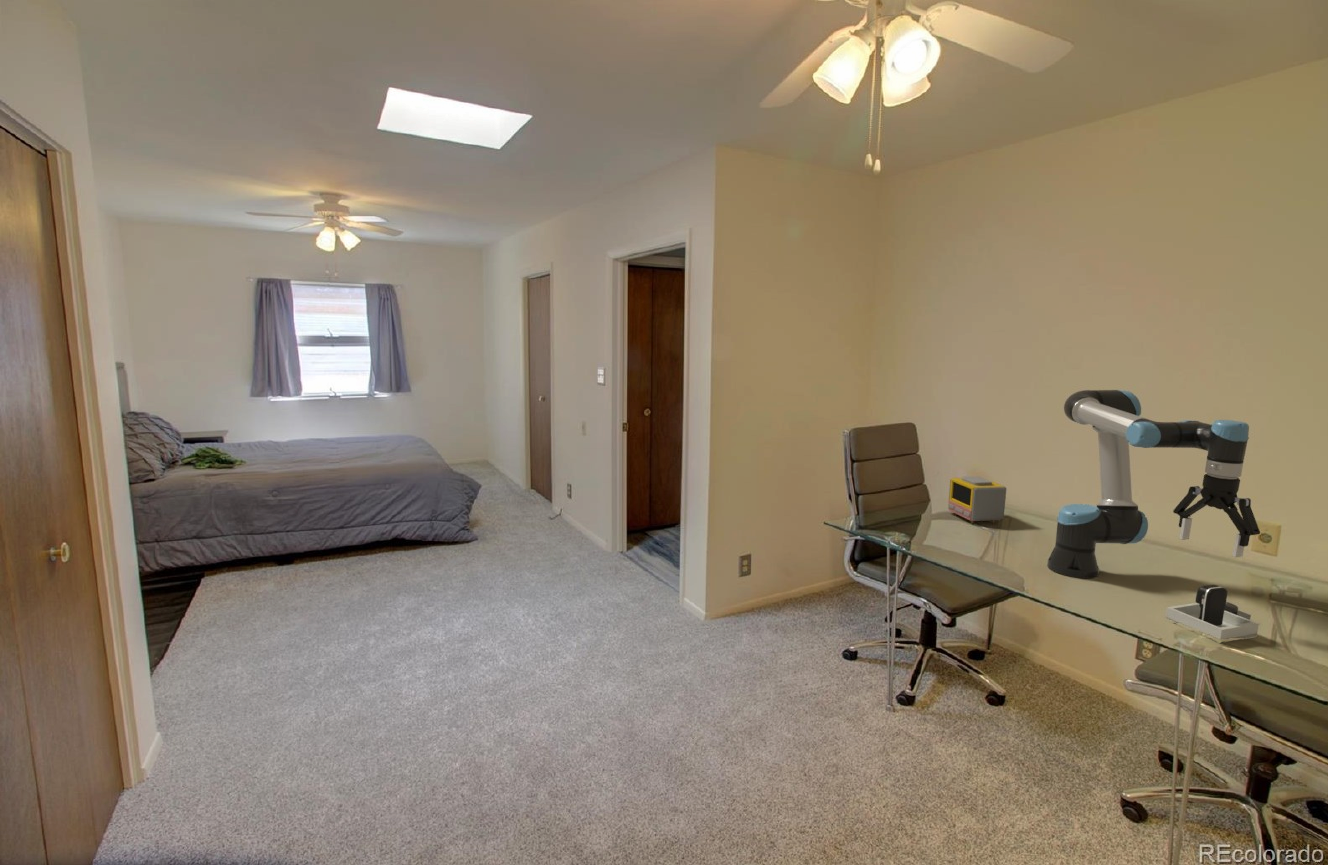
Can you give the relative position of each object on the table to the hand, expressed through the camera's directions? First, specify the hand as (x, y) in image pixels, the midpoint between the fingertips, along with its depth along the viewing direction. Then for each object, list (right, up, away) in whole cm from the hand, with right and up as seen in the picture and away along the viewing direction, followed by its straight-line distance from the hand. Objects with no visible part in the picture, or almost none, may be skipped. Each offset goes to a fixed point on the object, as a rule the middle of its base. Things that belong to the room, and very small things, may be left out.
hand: (1209, 547), depth 171 cm
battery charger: (-1, -22, 0) cm, 22 cm away
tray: (-1, -23, -1) cm, 23 cm away
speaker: (+10, -22, +7) cm, 25 cm away
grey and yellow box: (-14, -7, +102) cm, 104 cm away
